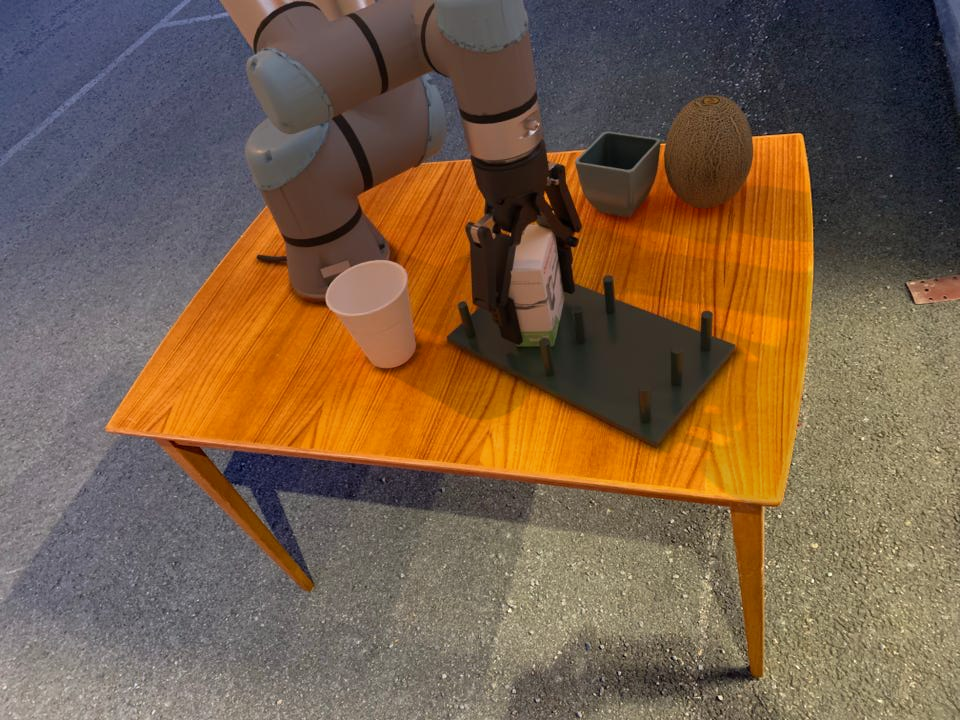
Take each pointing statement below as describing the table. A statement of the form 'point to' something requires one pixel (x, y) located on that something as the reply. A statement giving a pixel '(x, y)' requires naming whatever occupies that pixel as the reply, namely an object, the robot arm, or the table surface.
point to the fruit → (708, 151)
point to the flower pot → (618, 172)
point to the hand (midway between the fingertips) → (539, 313)
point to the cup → (375, 310)
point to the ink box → (537, 286)
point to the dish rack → (608, 360)
